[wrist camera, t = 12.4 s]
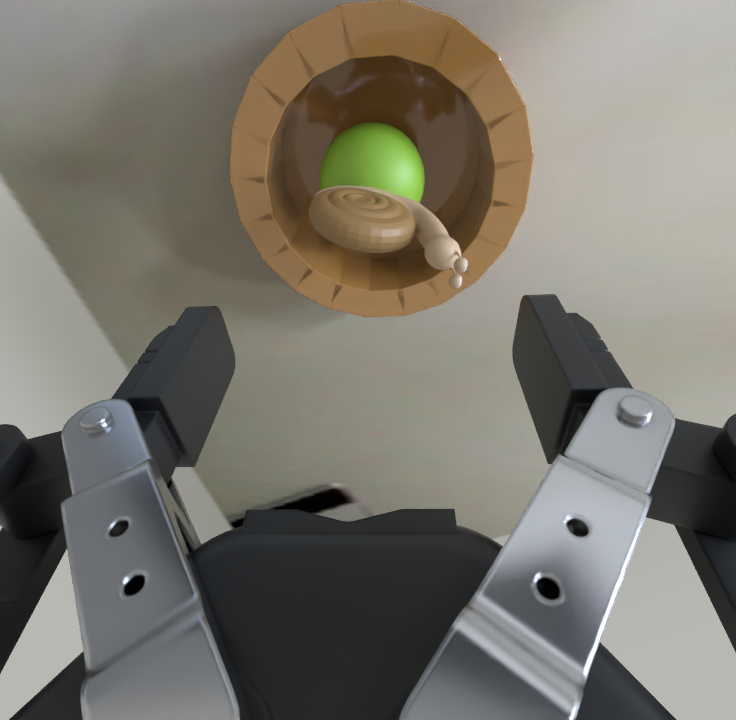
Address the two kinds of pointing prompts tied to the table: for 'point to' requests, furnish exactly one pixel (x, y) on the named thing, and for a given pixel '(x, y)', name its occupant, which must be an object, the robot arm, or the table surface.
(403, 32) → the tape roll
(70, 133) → the table surface
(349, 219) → the snail figurine
